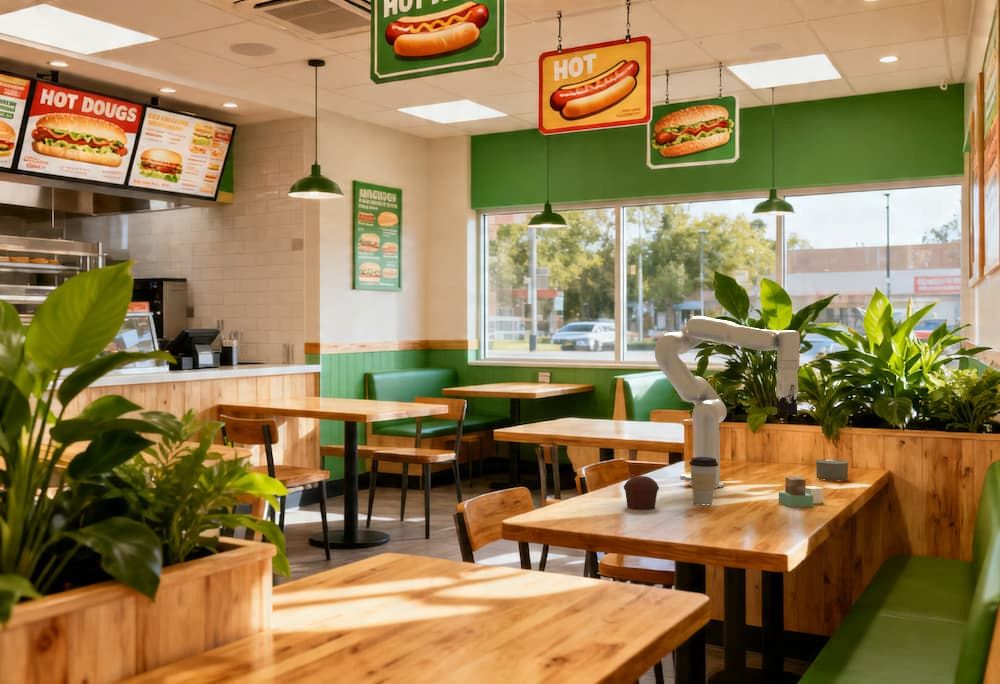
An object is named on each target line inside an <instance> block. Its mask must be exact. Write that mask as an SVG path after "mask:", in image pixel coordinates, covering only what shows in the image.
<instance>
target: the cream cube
mask: <svg viewBox="0 0 1000 684" xmlns="http://www.w3.org/2000/svg"><path fill="white" fill-rule="evenodd" d="M805 493H807V494H811V495H813V503H814V504H823V503H824V488H823V487H821V486H820V487H819V486H816V485H808V486H807V485H805ZM822 502H823V503H822Z"/></svg>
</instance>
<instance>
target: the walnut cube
mask: <svg viewBox="0 0 1000 684" xmlns="http://www.w3.org/2000/svg"><path fill="white" fill-rule="evenodd" d="M806 481H807V480H806V479H805V478H803V477H801V476H785V487H784V489H785V490H784V492H786V493H788V494H790V495H805V486H806V484H807V483H806Z"/></svg>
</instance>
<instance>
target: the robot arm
mask: <svg viewBox="0 0 1000 684" xmlns="http://www.w3.org/2000/svg"><path fill="white" fill-rule="evenodd" d="M800 335H801V334H800V333H799V331H797V330H773V329H772V330H771V329H760V328H756V327H749V326H746V325H741V324H740V325H739V324H737V323H736V322H733V321H731V320H730V321H729V320H724V319H719V318H718V319H717V318H712V317H709V316H706V315H705V316H704V315H694V316H692V317H690V318H689V319H688V321H687V322H686V326H685V327H684V328H682V329H680V330H679V331H677V332H676V331H675V332H666V333H664V334H662V335H661V336H660V337H659V339H658V340H657V341H656V345H655V348H654V358H655V361H656V364H657V366H658V368H659V369H660V370H661V372H662V373H663V374H664V376H665V377H666V378H667V380H668V381H669V383H670V384H671V386H672V387H673V389H674V390H675V391H676V393H677V394H678V396H679V397H680V399H682V400H683V401H685V402H687V403H693V405H694V407H693V409H692V414H691V418H692V419H691V421H692V427H693V428H692V429H693V458H694V457H709V458H715V459H716V462H718V466H716V479H715V488H714V489H717V488H716V487H720V488H723V487H724V485H725V483H724V482H722V481H720V477H721V476H720V475H721V474H720V469H721V468H720V466H721V465H720V463H721V459H720V458H721V433H720V425H719V424H720V423H722V422H724V420H725V419H726V417H727V407H726V404H725V403H724V402H723V400H722V399H721V397H719V394H717V392H716V390H714V388H713V387H712V386H711V384H710V383H709V382H708V381H707V380H706V379H705V378H704V377H701V376H699V375H694V373H693V372H691V370H690V369H689V368H688V366H687V365H686V363H685V362H684V361H683V360H682V359H681V358H680V355H684V354H686V353H688V352H689V351H692V349H695V347H697V346H699V345H700V344H702V343H703V342H705V341H707V342H713V343H717V344H722V345H727V346H735V347H740V348H745V349H749V350H754V351H761V352H766V351H768V352H769V351H774V350H775V351H776V353H777V354H776V355H777V356H776V357H777V358H776V361H777V363H776V369H777V376H776V392H775V394H776V396H777V397H778V413H787V415H789V416H796V415H798V398H799V397H798V395H799V373H798V371H799V370H800V348H801V347H800V346H801V345H800V344H801V343H800V342H801V341H800V340H801V339H800V337H801V336H800ZM679 479H680V480H681V481H689V482H688V485H689V486H691V487H692V481H691V473H689V474H680V477H679ZM722 486H723V487H722Z"/></svg>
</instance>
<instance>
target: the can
mask: <svg viewBox="0 0 1000 684" xmlns="http://www.w3.org/2000/svg"><path fill="white" fill-rule="evenodd" d="M815 465H816V466H815V467H816V468H815V469H816V476H815V477H817V478H819V479H818V480H820V479H825V480H824V481H826V480H846V479H849V478H848V477H849V461H847V460H841V459H825V458H824V459H816V460H815ZM817 478H816V479H817ZM846 481H847V480H846Z"/></svg>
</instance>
